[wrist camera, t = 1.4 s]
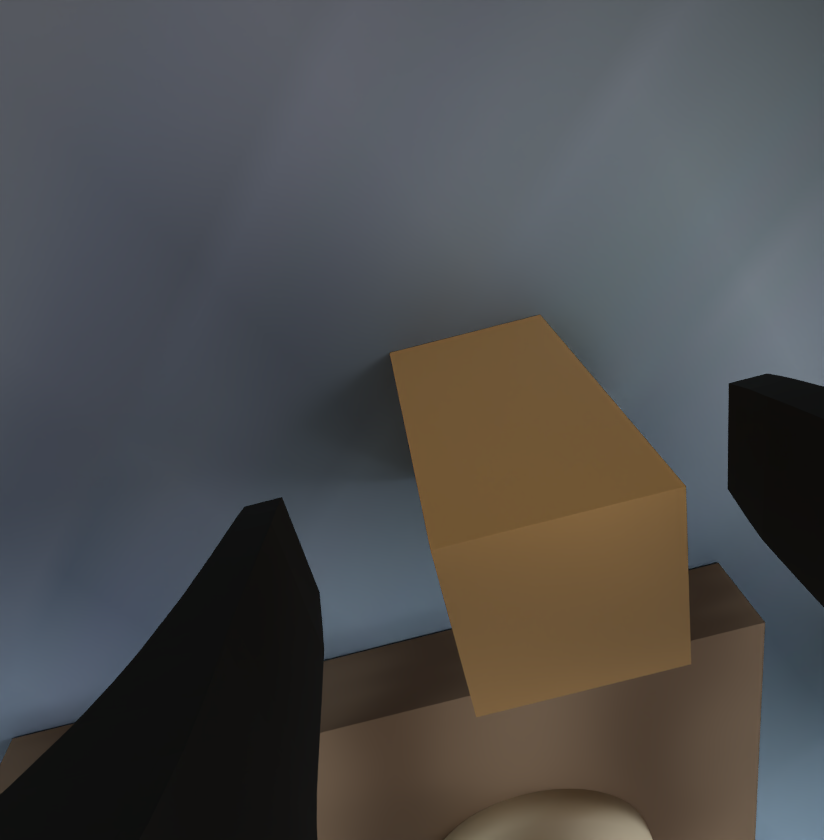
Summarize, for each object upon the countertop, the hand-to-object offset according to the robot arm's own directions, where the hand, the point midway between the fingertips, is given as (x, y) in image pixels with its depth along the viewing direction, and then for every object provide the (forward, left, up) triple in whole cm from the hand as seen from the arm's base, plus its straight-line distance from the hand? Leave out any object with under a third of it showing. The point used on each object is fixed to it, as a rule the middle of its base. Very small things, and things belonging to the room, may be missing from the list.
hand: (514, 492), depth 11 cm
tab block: (0, 0, -3) cm, 3 cm away
